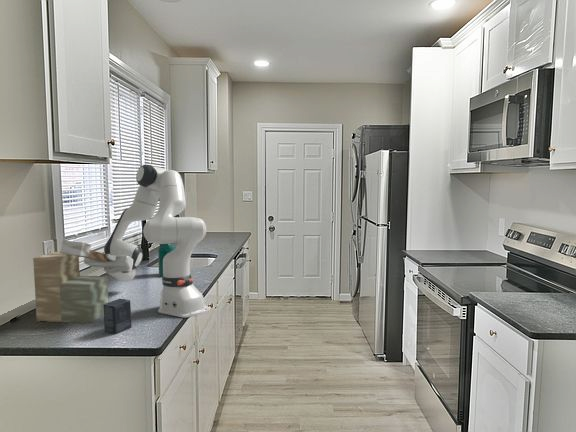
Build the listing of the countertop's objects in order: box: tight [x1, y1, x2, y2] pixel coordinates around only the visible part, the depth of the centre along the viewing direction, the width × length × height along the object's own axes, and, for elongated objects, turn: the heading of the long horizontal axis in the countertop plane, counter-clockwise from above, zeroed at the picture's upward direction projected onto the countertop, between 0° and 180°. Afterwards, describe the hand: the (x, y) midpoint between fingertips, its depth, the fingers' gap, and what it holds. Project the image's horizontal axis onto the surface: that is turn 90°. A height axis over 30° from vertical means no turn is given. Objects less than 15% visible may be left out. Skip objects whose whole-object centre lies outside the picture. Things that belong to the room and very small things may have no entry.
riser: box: [32, 251, 110, 324], centre depth 171 cm, size 14×22×25 cm, turn 86°
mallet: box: [59, 240, 110, 262], centre depth 176 cm, size 23×9×5 cm, turn 169°
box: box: [103, 298, 132, 335], centre depth 156 cm, size 8×6×11 cm
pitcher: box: [157, 243, 177, 278], centre depth 241 cm, size 10×8×22 cm
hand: (100, 255), depth 183 cm, fingers closed on mallet, 4 cm apart
